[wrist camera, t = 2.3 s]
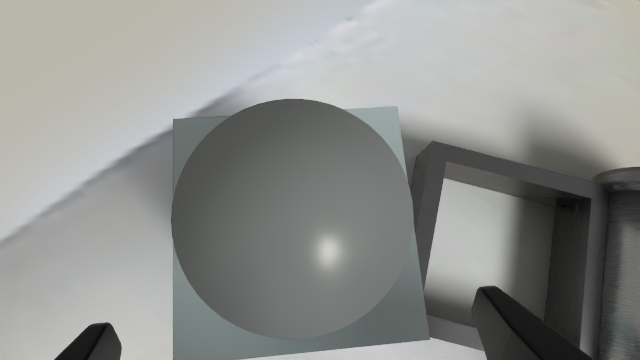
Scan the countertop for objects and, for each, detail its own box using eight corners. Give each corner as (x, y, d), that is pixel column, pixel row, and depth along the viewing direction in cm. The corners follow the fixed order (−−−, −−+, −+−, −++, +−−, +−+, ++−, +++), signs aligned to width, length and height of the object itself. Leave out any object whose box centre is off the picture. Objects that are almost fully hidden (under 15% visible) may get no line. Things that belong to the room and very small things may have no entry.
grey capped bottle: (354, 298, 19) (473, 363, 6) (247, 308, 18) (129, 400, 6) (343, 194, 20) (424, 61, 7) (242, 201, 19) (136, 76, 7)
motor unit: (645, 475, 17) (772, 550, 13) (368, 403, 17) (393, 451, 13) (655, 205, 20) (761, 186, 16) (419, 144, 21) (454, 107, 16)
